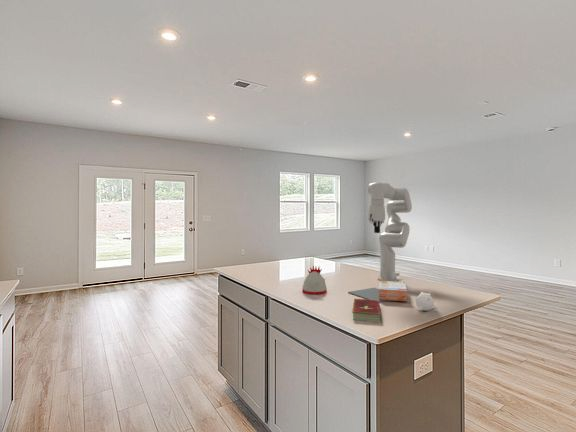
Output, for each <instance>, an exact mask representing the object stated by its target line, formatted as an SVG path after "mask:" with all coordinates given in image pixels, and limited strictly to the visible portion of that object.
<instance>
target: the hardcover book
mask: <svg viewBox="0 0 576 432" xmlns="http://www.w3.org/2000/svg"><path fill="white" fill-rule="evenodd" d="M380 305H381V304H380V302H379V300H368V299H364V298H354V299H353V305H352V311H351V312H352V320H355V321H363V320H367V321H366V322H375V321H380V322H379V323H381V322H382V314H381V307H380Z"/></svg>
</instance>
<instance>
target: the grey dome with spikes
mask: <svg viewBox="0 0 576 432" xmlns="http://www.w3.org/2000/svg"><path fill="white" fill-rule="evenodd" d="M309 269H310V270H309ZM309 269H307V275H306V277H305V279H304V281H303V284H302V293H304V294H305V293H306V295H310V296H311V295H313V296H317V295H318V296H319V295H324V294H326V293H327V289H328V288H327V285H326V284H327V283H326V279H325V277H324V276H323V275H322V274H321V272H322V268H320V266H318V268H317V266H315V267H314V265H313V266H312V267H310V268H309Z"/></svg>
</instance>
